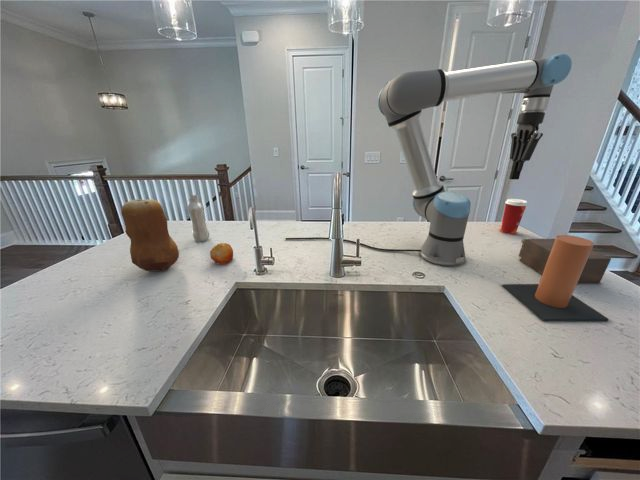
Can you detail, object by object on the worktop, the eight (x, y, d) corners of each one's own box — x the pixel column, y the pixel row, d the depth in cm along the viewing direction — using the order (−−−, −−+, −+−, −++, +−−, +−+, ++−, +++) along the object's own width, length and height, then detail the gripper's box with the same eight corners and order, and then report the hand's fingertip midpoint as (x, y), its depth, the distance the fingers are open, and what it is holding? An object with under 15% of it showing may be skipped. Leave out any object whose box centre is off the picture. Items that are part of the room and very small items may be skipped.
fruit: (242, 253, 99) (232, 241, 93) (231, 271, 95) (219, 259, 89) (226, 250, 102) (215, 237, 96) (214, 266, 98) (202, 255, 92)
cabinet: (519, 260, 95) (526, 238, 91) (557, 260, 94) (565, 238, 91) (555, 283, 80) (565, 258, 77) (599, 283, 80) (611, 258, 77)
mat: (543, 321, 65) (543, 319, 64) (502, 285, 79) (502, 284, 79) (607, 320, 64) (608, 319, 64) (554, 285, 79) (555, 284, 79)
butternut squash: (174, 256, 101) (158, 192, 91) (186, 268, 92) (170, 199, 82) (132, 269, 92) (109, 199, 82) (141, 283, 83) (117, 207, 73)
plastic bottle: (213, 239, 117) (205, 195, 109) (199, 244, 112) (190, 198, 104) (204, 236, 120) (196, 193, 112) (191, 241, 115) (181, 196, 107)
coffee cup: (522, 235, 117) (532, 203, 111) (502, 234, 118) (511, 202, 113) (513, 229, 124) (522, 198, 119) (494, 228, 126) (502, 197, 120)
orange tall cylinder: (536, 302, 70) (559, 242, 64) (533, 290, 76) (553, 233, 69) (570, 310, 67) (598, 247, 60) (564, 297, 73) (589, 237, 66)
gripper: (509, 113, 98) (493, 176, 107) (535, 110, 86) (515, 182, 95) (529, 113, 98) (512, 176, 107) (558, 110, 86) (536, 182, 95)
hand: (513, 179), depth 101 cm, fingers closed
